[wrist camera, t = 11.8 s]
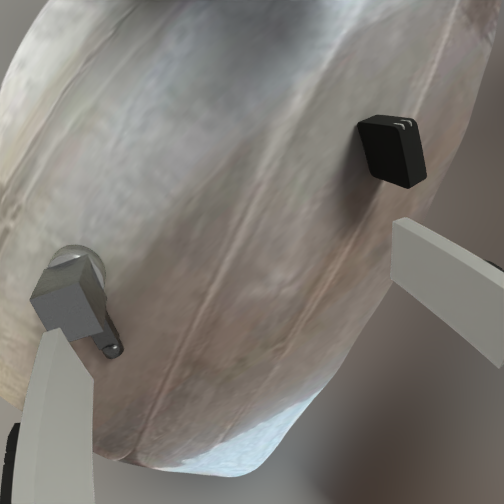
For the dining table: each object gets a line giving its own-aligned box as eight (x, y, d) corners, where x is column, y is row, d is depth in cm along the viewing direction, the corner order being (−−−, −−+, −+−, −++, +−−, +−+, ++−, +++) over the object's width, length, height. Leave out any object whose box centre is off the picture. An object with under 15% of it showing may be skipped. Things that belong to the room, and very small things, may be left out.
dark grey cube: (65, 311, 40) (56, 345, 34) (44, 269, 37) (29, 299, 30) (106, 297, 42) (103, 331, 35) (87, 253, 39) (78, 282, 32)
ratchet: (40, 254, 40) (22, 286, 32) (92, 235, 42) (83, 264, 34) (91, 351, 49) (88, 391, 41) (138, 337, 51) (141, 376, 42)
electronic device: (370, 176, 52) (410, 190, 44) (355, 121, 47) (397, 127, 39) (387, 167, 53) (427, 179, 44) (374, 114, 48) (416, 118, 39)
